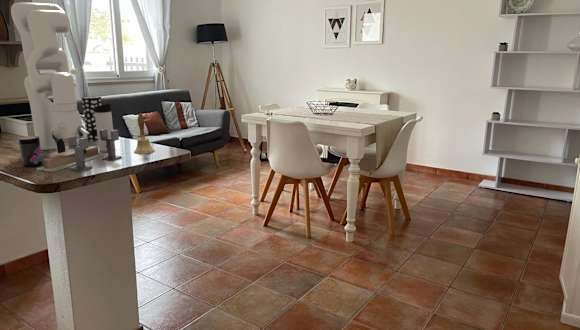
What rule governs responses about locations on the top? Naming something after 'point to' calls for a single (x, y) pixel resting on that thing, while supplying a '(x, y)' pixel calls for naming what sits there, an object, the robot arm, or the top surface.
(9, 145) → the top surface
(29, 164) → the supplement container
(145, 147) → the hand bell
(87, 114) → the white-spotted black cylinder
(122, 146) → the top surface
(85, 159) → the mat
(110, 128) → the travel mug
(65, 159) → the rail
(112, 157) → the rack
